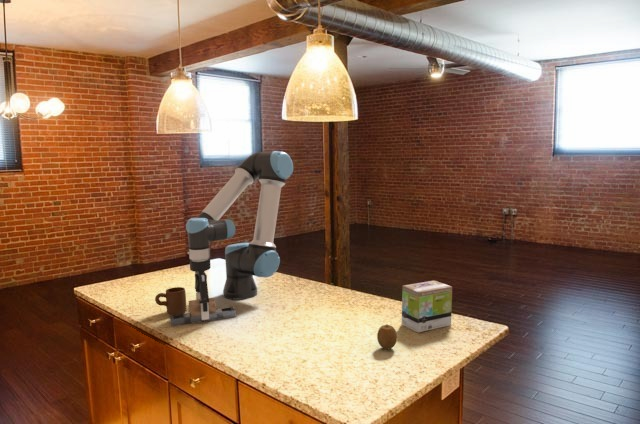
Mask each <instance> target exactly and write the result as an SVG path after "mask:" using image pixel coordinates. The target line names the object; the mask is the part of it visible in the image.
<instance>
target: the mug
mask: <svg viewBox="0 0 640 424" xmlns="http://www.w3.org/2000/svg"><path fill="white" fill-rule="evenodd" d="M160 298H165V300H161V299H160ZM154 300H155V303H156V305H158V306H163V307H166V313H167V314H168V315H169V316H170V315H177V314H184V313H187V295H186V289H185V288H184V287H183V286H182V287H181V286H180V287H179V286H177V287H176V286H175V287H170V288H167V289H166V290H165V293H164V292H160V293H157V294H156V295H155V299H154Z"/></svg>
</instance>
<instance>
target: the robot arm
mask: <svg viewBox="0 0 640 424" xmlns="http://www.w3.org/2000/svg"><path fill="white" fill-rule="evenodd" d="M293 172H294V163H293V160H292V158H291V156H290V155H289V154H288V153H287V152H284V151H279V150H273V151H258V152H257V151H256V152H254V153H252V154H250V155H249V156H247V157H246V158H245V159H244V160H243V161H242V162H240V164H239V165H238V166H237V167H236V168H235V170H234V174H233V175H232V176H231V178H230V179H229V180H228V181H227V182H226V183H225V185H224V186H223V187H222V188H221V189H220V190H219V191H218V192H217V194H216V195H214V197H213V198H212V199H211V200H210V202H209V203H207V205H206V206H205V208H204V209H203V210H202V211H201V212H200V213H199V214H198V215H197V216H196V217H195V216H194V217H191V218H189V219H188V220H187V221H186V223H185V229H186V231H187V241H188V250H189V251H187V255H189V260H190V261H189V270H190V271H192V272H194V280H195V281H194V283H195V284H194V289H195V300H199V299H201V301H199V304H201V318H202V320H207V319H209V304H208V302H209V298H210V297H209V289H208V276H207V273H205V272H206V271H209V270H210V269H211V259H210V258H211V250H210V249H211V248H210V243H211V242H217V241H222V240H228V239H231V238H233V237H234V236H235V234H236V226H235V223H234V221H233V220H231V219H221V218H222V217H223V216H224V215H225V213H226V212H227V211H228V209H229V208H230V207H231V206H232V205H233V204H234V202H236V200H237V199H238V198H239V196H240V195H241V194H242V193H243V192H244V191H245V189H246V188H247V187H248V186H249V185H252V184H253V183H255V182H256V181H257V180H258V182H259V183H260V185H261V186H260V193H259V198H258V199H259V200H258V206H257V212H256V220H255V225H254V231H253V232H254V233H253V239H252V240H251V241H250V242H239V243H233V244H228V245H227V246H226V247H225V250H224V257H225V258H224V259H225V273H226V274H225V275H226V279H225V284H224V285H223V291H222V295H223V297H224V298H226V299H228V300H229V299H231V300H244V299H250V298H252V297H255V296H257V294H258V287H257V284H256V282H255V279H254V276H255V277H258V278H270V277H272V276H273V275H274V274H275V273H277V270H278V269H279V266H280V262H281V258H280V256H279V253H278V252H277V246H276V244H275V243H274V239H275V234H276V227H277V221H278V220H277V219H278V213H279V206H280V199H281V198H280V197H281V193H282V192H281V191H282V188H283V187H284V186H285V185H286V182H287V179H289V178H290V177H291V176H292V174H293ZM220 219H221V220H220Z"/></svg>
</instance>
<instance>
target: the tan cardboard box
mask: <svg viewBox="0 0 640 424" xmlns="http://www.w3.org/2000/svg"><path fill="white" fill-rule="evenodd" d="M199 301H201V299H199V300H196V299H193V300H188V311H189V312H188V313H190V314H191V317H192V316H199V315H201V304H199ZM208 304H209V314H213V313H216V309H217V308H216V302H215V300H214V298H213V297H209V302H208Z"/></svg>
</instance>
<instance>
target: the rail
mask: <svg viewBox="0 0 640 424" xmlns="http://www.w3.org/2000/svg"><path fill="white" fill-rule="evenodd" d="M236 313H237V312H236V309H235V308H234V306H228V307H221V308H219V307H218V308H216V313H213V314H209V319H207V320H202V318H201V315H199V316H192V317H191V314H190V312H185V313H183V314H177V315H169V324H170V327H176V326H183V325H189V324H197V323H204V322H210V321H215V320H217V321H218V320H223V319H224V320H225V319H230V318H236V317H237V316H236V315H237V314H236Z"/></svg>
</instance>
